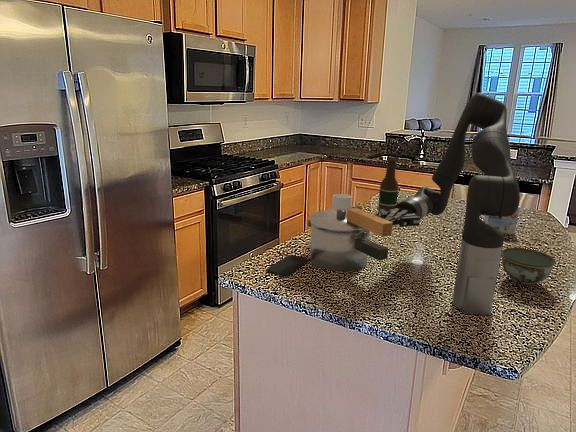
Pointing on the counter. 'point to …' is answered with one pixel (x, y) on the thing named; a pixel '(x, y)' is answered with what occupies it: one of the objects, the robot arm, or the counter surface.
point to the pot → (343, 250)
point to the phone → (287, 265)
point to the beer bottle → (388, 188)
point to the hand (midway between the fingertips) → (385, 224)
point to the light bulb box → (503, 222)
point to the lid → (350, 222)
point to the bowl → (526, 265)
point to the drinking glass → (341, 202)
